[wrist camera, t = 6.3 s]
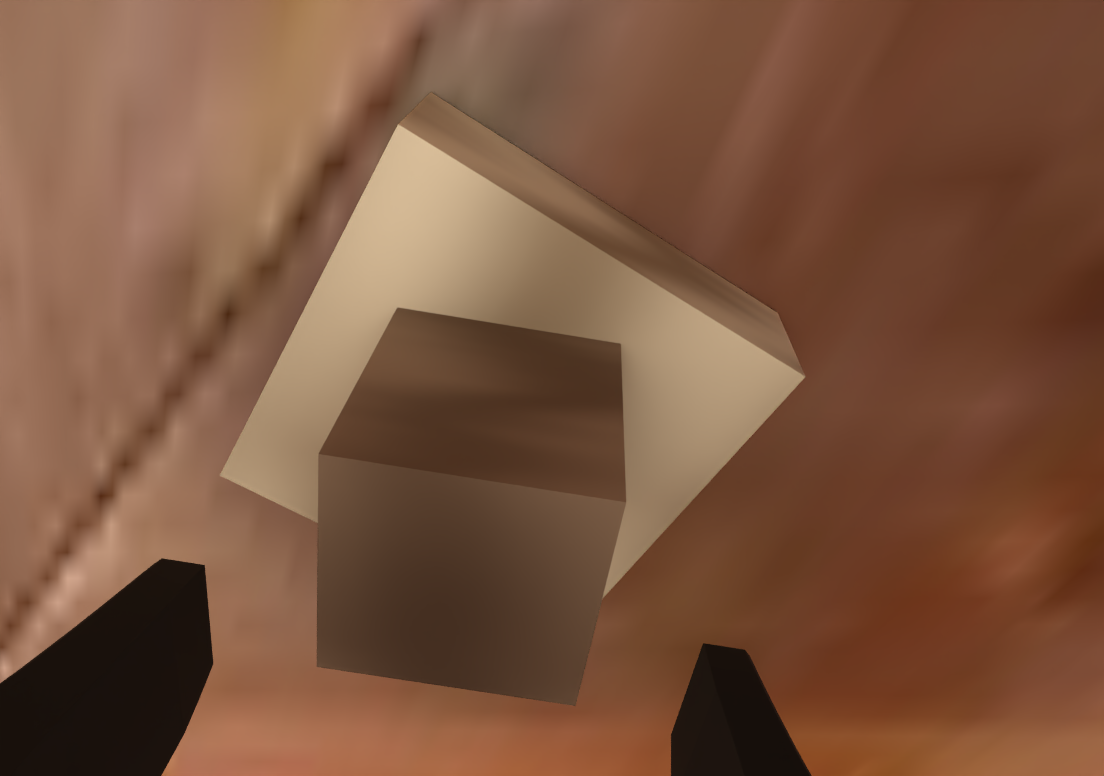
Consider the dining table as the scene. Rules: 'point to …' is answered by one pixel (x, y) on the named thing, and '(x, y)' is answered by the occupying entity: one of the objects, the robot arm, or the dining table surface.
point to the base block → (523, 316)
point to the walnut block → (471, 507)
